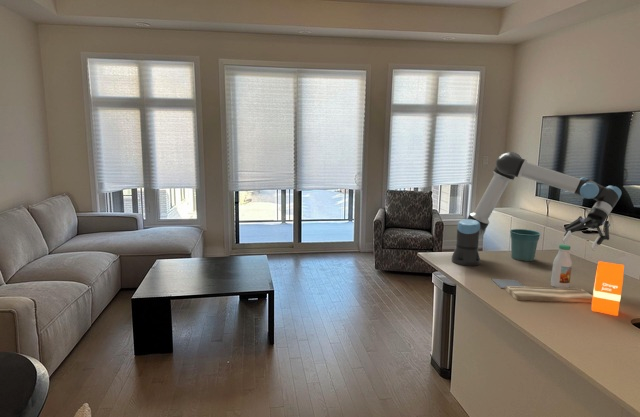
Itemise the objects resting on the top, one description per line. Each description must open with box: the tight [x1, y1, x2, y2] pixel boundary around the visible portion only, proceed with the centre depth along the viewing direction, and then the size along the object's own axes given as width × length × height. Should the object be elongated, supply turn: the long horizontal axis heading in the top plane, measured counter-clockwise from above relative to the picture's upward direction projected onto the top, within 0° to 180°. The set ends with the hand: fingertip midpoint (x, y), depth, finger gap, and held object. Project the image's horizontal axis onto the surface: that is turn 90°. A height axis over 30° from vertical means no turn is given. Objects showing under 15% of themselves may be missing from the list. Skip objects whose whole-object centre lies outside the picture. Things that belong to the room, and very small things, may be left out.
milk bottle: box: [550, 244, 573, 288], centre depth 198 cm, size 8×8×20 cm
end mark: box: [491, 278, 526, 290], centre depth 200 cm, size 12×12×1 cm
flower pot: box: [509, 228, 542, 262], centre depth 246 cm, size 16×16×16 cm
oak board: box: [504, 285, 593, 304], centre depth 186 cm, size 12×34×2 cm, turn 89°
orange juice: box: [591, 260, 625, 316], centre depth 170 cm, size 8×9×20 cm
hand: (577, 245), depth 201 cm, fingers open, 13 cm apart
